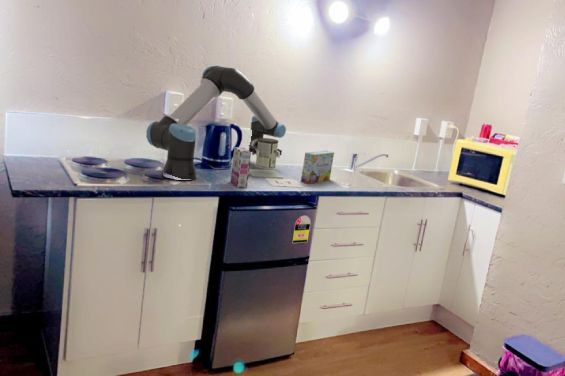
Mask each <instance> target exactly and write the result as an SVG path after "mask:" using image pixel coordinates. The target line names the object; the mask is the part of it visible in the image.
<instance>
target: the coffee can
mask: <svg viewBox="0 0 565 376" xmlns="http://www.w3.org/2000/svg"><path fill="white" fill-rule="evenodd" d="M278 144H279V140H278V139H275V138H270V137H269V138H268V137H267V138H266V137H263V138H259V139H258V148H257V149H258V150H259V156H257V155H256V157H255V158H256V160H255V167H257V168H259V169H263V170H274V169H276V164H277V163H276V162H277V149H278V148H279V147H278Z"/></svg>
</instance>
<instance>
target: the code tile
mask: <svg viewBox="0 0 565 376" xmlns="http://www.w3.org/2000/svg"><path fill="white" fill-rule="evenodd" d="M264 179H265V180H266V181H267V183H269V184H270V185H271V186H272V187H283V186H286V187H285V188H299V189H300V188H301V189H302V188H305V187H304V186H303V185H302V184H301V183H300V182H299V181H298V180H296V179H288V178H287V179H286V178H283V179H279V178H264ZM278 185H280V186H278ZM281 185H282V186H281Z"/></svg>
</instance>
